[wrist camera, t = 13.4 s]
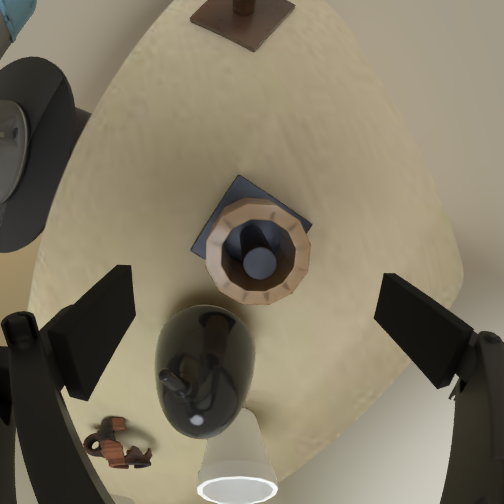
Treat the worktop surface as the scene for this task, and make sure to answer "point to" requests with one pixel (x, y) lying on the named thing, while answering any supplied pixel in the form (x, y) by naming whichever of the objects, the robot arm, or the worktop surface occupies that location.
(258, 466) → the foam cup
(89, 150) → the worktop surface
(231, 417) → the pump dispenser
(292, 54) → the worktop surface
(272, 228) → the square base peg
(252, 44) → the low peg stand
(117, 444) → the pottery mug
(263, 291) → the maple ring
